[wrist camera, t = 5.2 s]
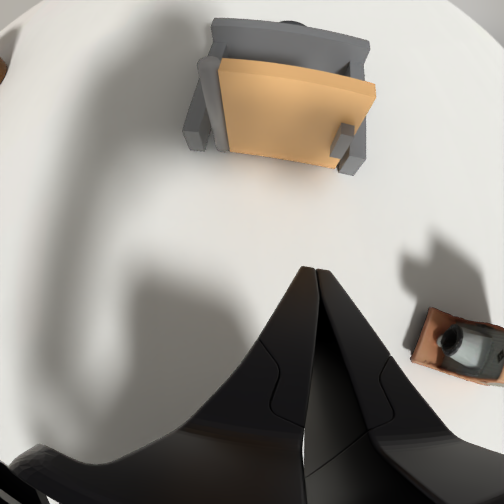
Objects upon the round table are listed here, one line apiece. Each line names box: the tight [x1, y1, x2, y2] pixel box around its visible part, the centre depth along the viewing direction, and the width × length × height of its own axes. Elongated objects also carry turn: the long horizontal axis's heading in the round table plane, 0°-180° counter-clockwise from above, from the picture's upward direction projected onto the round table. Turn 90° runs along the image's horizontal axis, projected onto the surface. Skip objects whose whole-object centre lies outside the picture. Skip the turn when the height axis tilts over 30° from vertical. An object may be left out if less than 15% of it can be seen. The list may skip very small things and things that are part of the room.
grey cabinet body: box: [182, 18, 370, 176], centre depth 21 cm, size 12×13×5 cm
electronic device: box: [410, 307, 504, 387], centre depth 16 cm, size 4×10×8 cm, turn 67°
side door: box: [197, 56, 376, 169], centre depth 18 cm, size 2×9×9 cm, turn 81°
